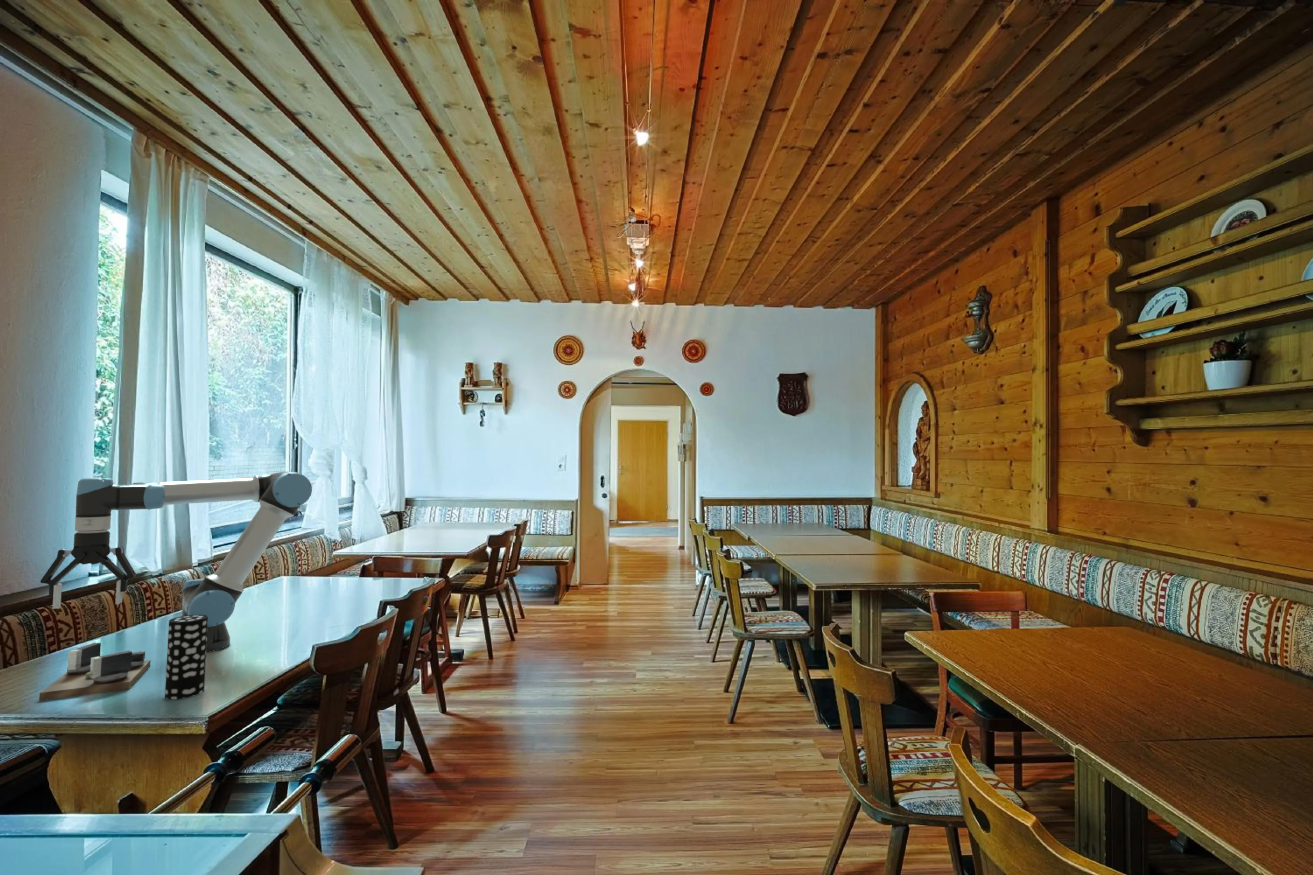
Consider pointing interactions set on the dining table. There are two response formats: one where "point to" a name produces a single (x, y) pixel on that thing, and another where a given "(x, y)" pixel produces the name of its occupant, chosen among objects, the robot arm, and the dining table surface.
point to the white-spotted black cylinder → (186, 656)
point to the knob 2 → (110, 667)
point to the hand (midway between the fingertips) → (88, 605)
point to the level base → (89, 684)
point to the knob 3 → (137, 659)
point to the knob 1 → (82, 658)
